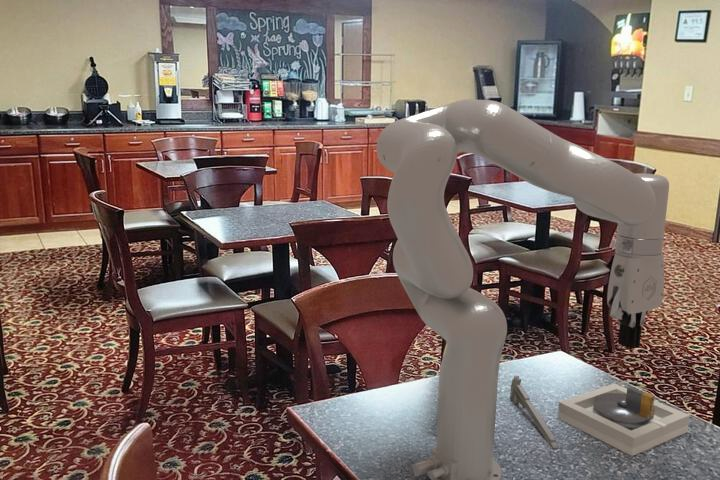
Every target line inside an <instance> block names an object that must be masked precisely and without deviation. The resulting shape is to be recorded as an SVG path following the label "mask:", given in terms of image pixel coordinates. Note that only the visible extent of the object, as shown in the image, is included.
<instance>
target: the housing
mask: <svg viewBox="0 0 720 480" xmlns="http://www.w3.org/2000/svg"><path fill="white" fill-rule="evenodd" d="M627 388H628V387H624V386H622V385H619V384H617V383H615V382H614V383H611V384H609V385H605V386H603V387H599V388H597V389H593V390H590V391H587V392H585V393H582V394H578V395H575V396H572V397H570V398H567V399H563V400H561V401H559V402H558V411H557V419H558V420H560V421H562V422H564V423H565V424H568V425H570V426H572V427H574V428H576V429H578V430H579V431H582V432H584V433H586V434H588V435H590V436H592V437H594V438H595V439H598V440H599V441H601V442H603V443H605V444H608V445H610V446H611V447H613V448H615V449H617V450H619V451H621V452H623V453H625V454H627V455H629V456H631V457H633V456H636V455H638V454H641V453H642V452H644V451H645V452H646V451H647V450H649V449H652V448H654V447H656V446H659V445H661V444H664V443H665V442H668V441H670V440H672V439H675V438H677V437H679V436H682V435H684V434H686V433H688V430H689V425H690V424H689V423H690V416H691V415H690V414H688V413H686V412H683V411H682V410H679V409H676V408H674V407H671V406H669V405H666V404H665V403H662V402H660V401H657V400H656V399H654V406H653V408H654V418H653V419H652V420H650V422H652V423H649V424H647V425H644V426H642V427H639V428H637V429H634V430H632V431H631V430H629V429H627V428H625V427H622V426H620V425H618V424H616V423H614V422H612V421H610V420H608V419H606V418H604V417H601V416H599V415H597V414H595V413H593V403H594V398H595V397H596V396H598V395H600V394H605V393H622V394H627Z"/></svg>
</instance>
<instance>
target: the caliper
mask: <svg viewBox="0 0 720 480" xmlns="http://www.w3.org/2000/svg"><path fill="white" fill-rule="evenodd" d="M521 383H522V379H521V378H520V376H519V375H514V376H513V378H512V380H511V385H510V395H509V399H510V401H511V402H512V401H513V405H515V406H516V405H517V406H518V405H520V406H521V407H522V409H525V410H526V411H527V413H528V414H529V416H530V418H531V420H533V422H534V423H535V425H536V427H537V429H538V430H539V432H540V433H541V435H542V437H543V438H544V439H545V441H546V443H547V444H549V446H551V448H552V449H559V445H558V444H557V442H556V441H557V439H556V437H555V436H554V435H553V432H551V430H550V429H549V427H548V425H547V424H546V422H545V421H544V419H543V417H542V416H541V414H540V413H539V411H538V410H537V409H536V407H535V406H534V404H533V402H532V401H531V398H530V396H529V394H528V393H527V391H526V389H525V388H524V386H523V385H522V384H521Z"/></svg>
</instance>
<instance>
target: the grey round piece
mask: <svg viewBox="0 0 720 480" xmlns="http://www.w3.org/2000/svg"><path fill="white" fill-rule="evenodd" d="M626 388H627V394H622V393H605V394H600V395H598V396H596V397H595V398H594V403H593V413H595V414H597V415H599V416H601V417H604V418H606V419H608V420H610V421H612V422H614V423H616V424H618V425H620V426H622V427H625V428H627V429H629V430H631V431H632V430H634V429H637V428H639V427H642V426H644V425H647V424H649V423H652V422H650V420H652V419H653V418H654V408H653V406H654V400H655V395H654V394H651V393H649V392H645V391H642V390H640V389H638V388H635V387H633V386H629V387H626Z"/></svg>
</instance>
